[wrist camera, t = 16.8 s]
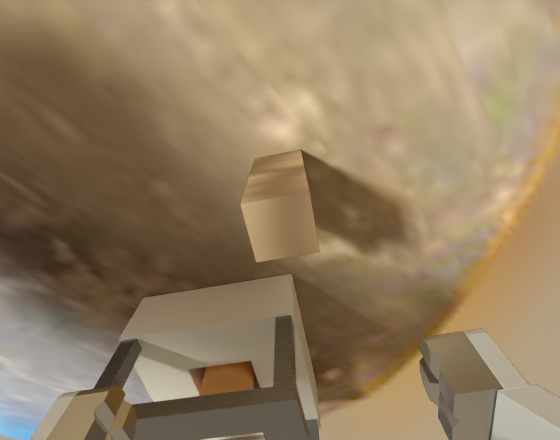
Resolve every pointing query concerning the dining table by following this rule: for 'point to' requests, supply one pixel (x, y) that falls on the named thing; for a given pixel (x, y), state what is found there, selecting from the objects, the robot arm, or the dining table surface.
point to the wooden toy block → (279, 208)
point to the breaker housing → (218, 338)
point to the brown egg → (228, 378)
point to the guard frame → (222, 401)
